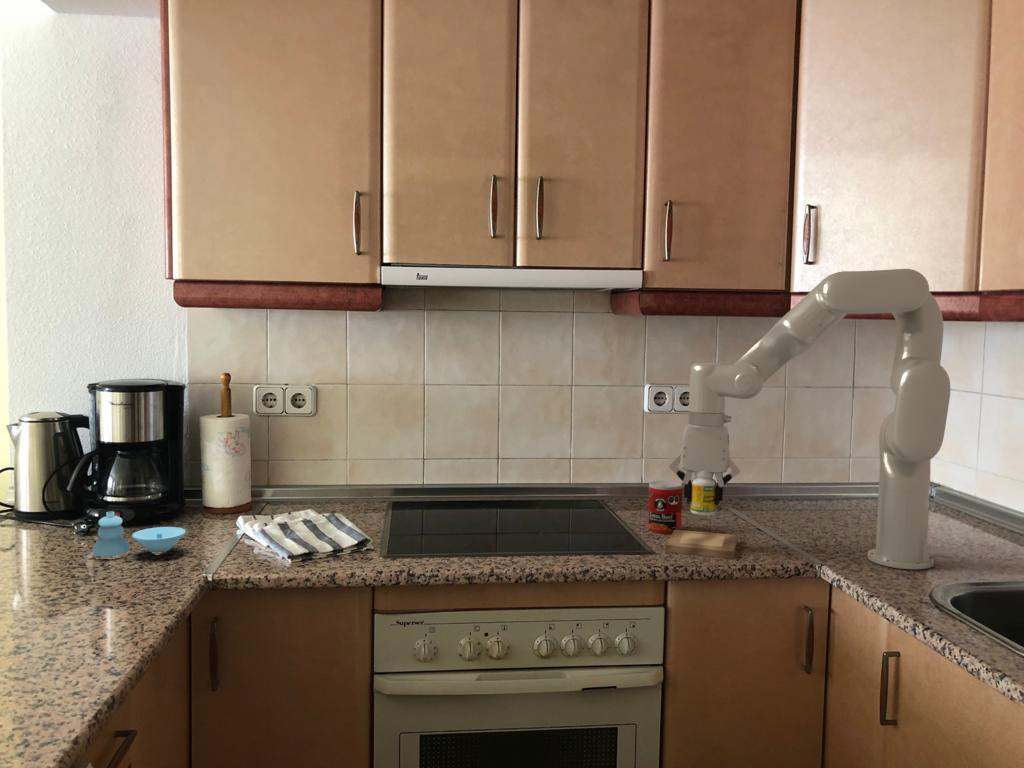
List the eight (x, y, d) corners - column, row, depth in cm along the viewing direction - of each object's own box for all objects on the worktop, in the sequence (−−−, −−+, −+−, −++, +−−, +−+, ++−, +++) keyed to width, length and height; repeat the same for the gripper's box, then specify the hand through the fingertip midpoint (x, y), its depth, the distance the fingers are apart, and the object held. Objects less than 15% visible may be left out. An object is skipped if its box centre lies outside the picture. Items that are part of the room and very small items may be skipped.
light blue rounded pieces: (190, 546, 186) (190, 504, 185) (181, 560, 176) (180, 516, 175) (101, 549, 183) (99, 507, 182) (86, 563, 173) (84, 519, 172)
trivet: (737, 541, 195) (737, 534, 194) (733, 558, 181) (733, 551, 181) (674, 536, 199) (674, 529, 199) (665, 551, 186) (665, 544, 186)
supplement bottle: (702, 509, 193) (704, 466, 192) (720, 514, 189) (722, 470, 188) (684, 511, 190) (686, 468, 189) (702, 516, 186) (704, 472, 185)
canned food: (643, 531, 203) (644, 484, 202) (654, 524, 210) (655, 479, 209) (675, 535, 199) (676, 488, 198) (685, 528, 206) (686, 482, 205)
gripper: (748, 420, 189) (744, 502, 190) (668, 415, 194) (666, 495, 196) (746, 424, 182) (742, 509, 183) (663, 419, 187) (661, 502, 188)
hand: (703, 501), depth 189 cm, fingers closed on supplement bottle, 5 cm apart
